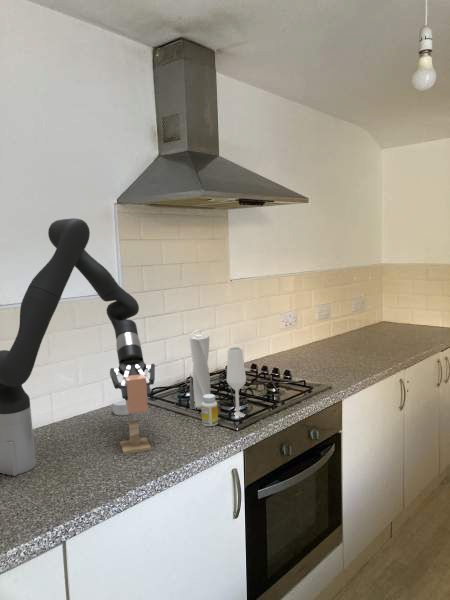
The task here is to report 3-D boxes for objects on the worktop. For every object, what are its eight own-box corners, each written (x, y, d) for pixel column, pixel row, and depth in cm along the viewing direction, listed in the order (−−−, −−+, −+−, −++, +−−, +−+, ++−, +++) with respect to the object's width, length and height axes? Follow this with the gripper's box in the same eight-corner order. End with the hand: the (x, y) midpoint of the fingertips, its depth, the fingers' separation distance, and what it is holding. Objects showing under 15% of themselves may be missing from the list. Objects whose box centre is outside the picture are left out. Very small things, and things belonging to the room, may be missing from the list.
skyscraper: (192, 401, 188) (188, 329, 184) (213, 401, 188) (209, 328, 184) (189, 409, 180) (185, 333, 176) (212, 408, 179) (208, 332, 176)
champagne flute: (244, 421, 166) (242, 351, 163) (225, 419, 168) (222, 350, 165) (249, 414, 172) (247, 346, 169) (231, 412, 174) (228, 346, 171)
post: (150, 449, 147) (149, 424, 146) (123, 454, 144) (121, 428, 143) (146, 439, 154) (144, 415, 153) (120, 444, 152) (118, 419, 151)
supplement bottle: (202, 427, 162) (201, 399, 161) (201, 421, 168) (200, 394, 167) (219, 426, 163) (217, 397, 162) (217, 420, 168) (216, 392, 167)
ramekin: (131, 416, 175) (130, 405, 175) (108, 416, 177) (107, 404, 177) (140, 408, 184) (139, 396, 183) (118, 407, 186) (117, 396, 185)
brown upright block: (147, 411, 147) (146, 378, 146) (128, 413, 145) (126, 380, 144) (144, 405, 152) (143, 373, 151) (126, 408, 150) (124, 375, 149)
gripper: (106, 345, 151) (112, 394, 141) (153, 341, 156) (162, 388, 146) (105, 359, 157) (111, 407, 147) (150, 354, 161) (159, 400, 151)
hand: (137, 397), depth 146 cm, fingers closed on brown upright block, 5 cm apart
